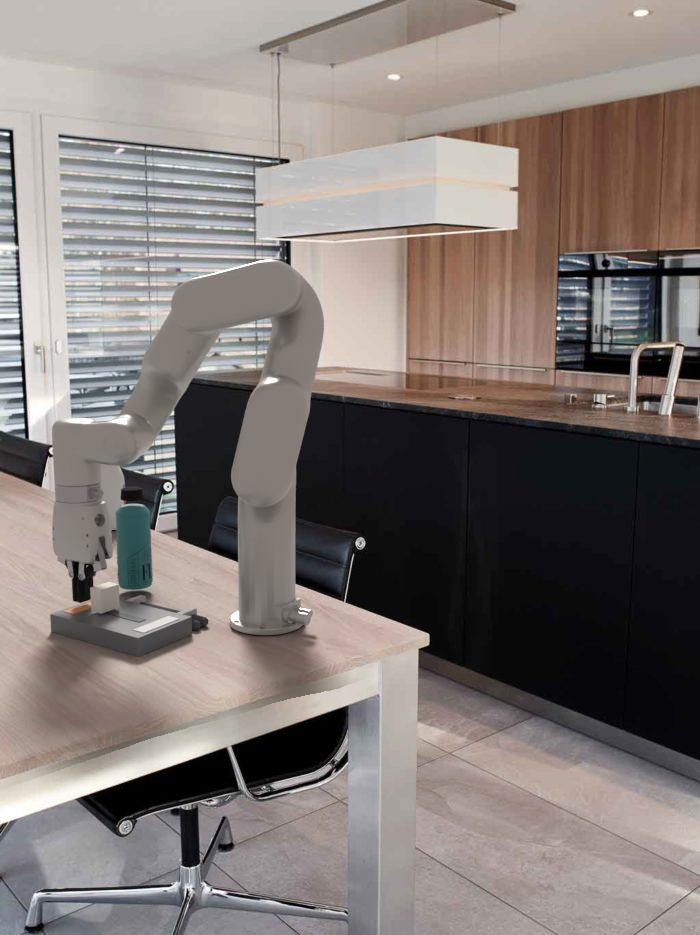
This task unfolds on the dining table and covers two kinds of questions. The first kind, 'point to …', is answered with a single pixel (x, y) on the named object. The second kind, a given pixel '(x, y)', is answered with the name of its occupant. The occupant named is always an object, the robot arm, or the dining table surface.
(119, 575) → the beverage bottle
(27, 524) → the dining table surface
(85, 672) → the dining table surface
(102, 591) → the block
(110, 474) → the milk bottle
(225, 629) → the dining table surface
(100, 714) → the dining table surface
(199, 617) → the dressed cords
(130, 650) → the panel
